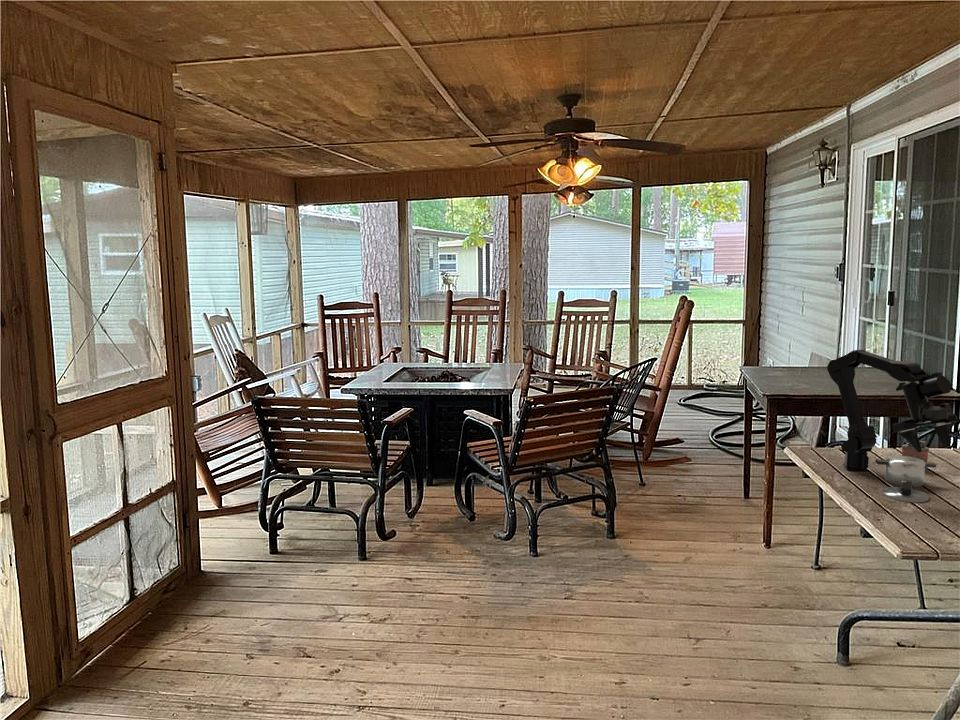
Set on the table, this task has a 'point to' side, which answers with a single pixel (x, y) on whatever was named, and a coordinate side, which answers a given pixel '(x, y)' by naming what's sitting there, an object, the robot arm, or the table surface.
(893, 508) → the table surface
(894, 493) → the lid
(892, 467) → the pot
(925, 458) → the lighter
